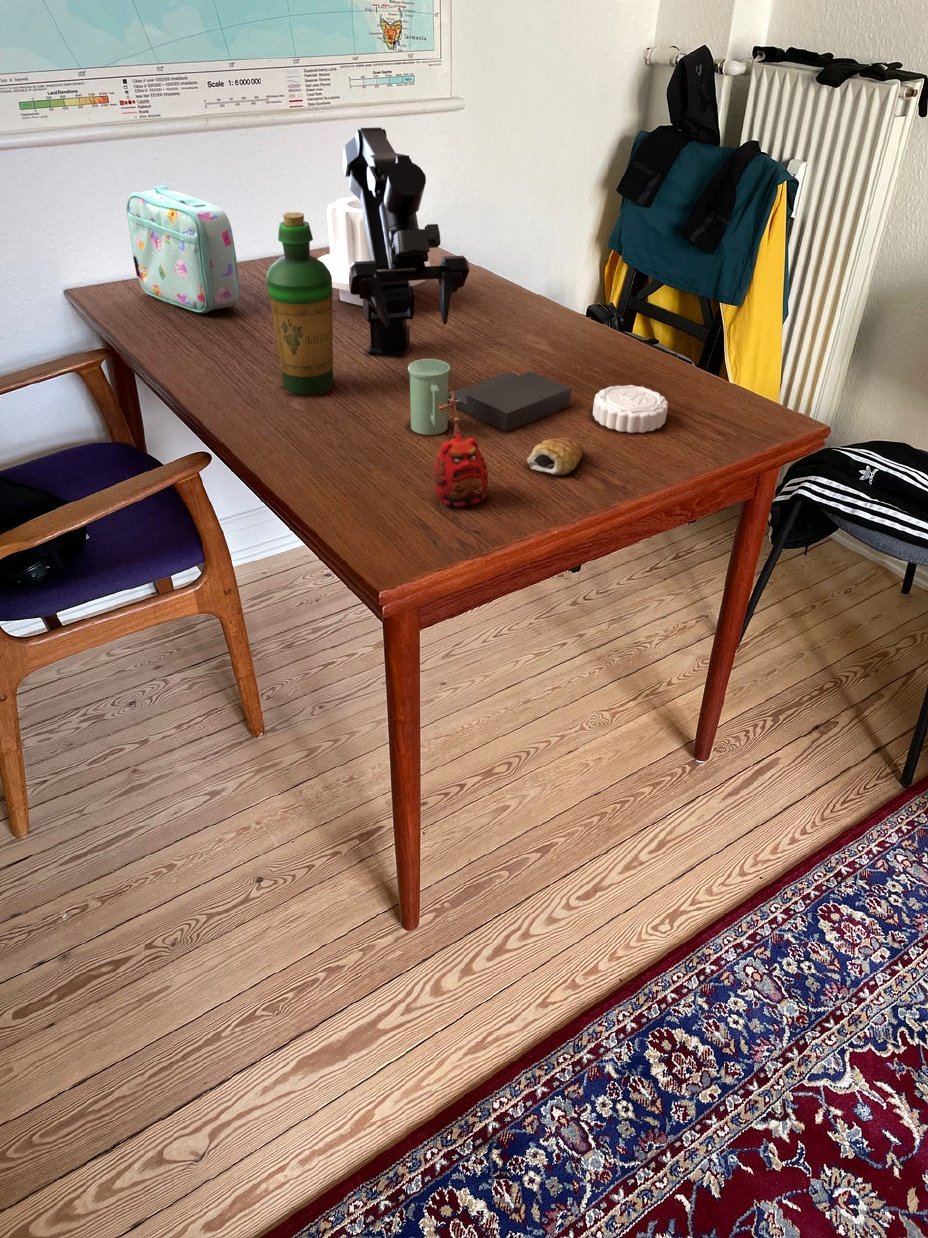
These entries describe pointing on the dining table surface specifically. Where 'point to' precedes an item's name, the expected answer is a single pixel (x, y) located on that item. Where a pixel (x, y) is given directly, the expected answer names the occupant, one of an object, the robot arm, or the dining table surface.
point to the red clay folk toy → (460, 468)
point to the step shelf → (512, 399)
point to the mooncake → (630, 408)
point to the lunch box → (183, 250)
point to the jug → (428, 396)
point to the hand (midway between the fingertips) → (417, 325)
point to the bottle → (302, 310)
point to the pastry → (556, 456)
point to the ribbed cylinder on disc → (347, 245)
